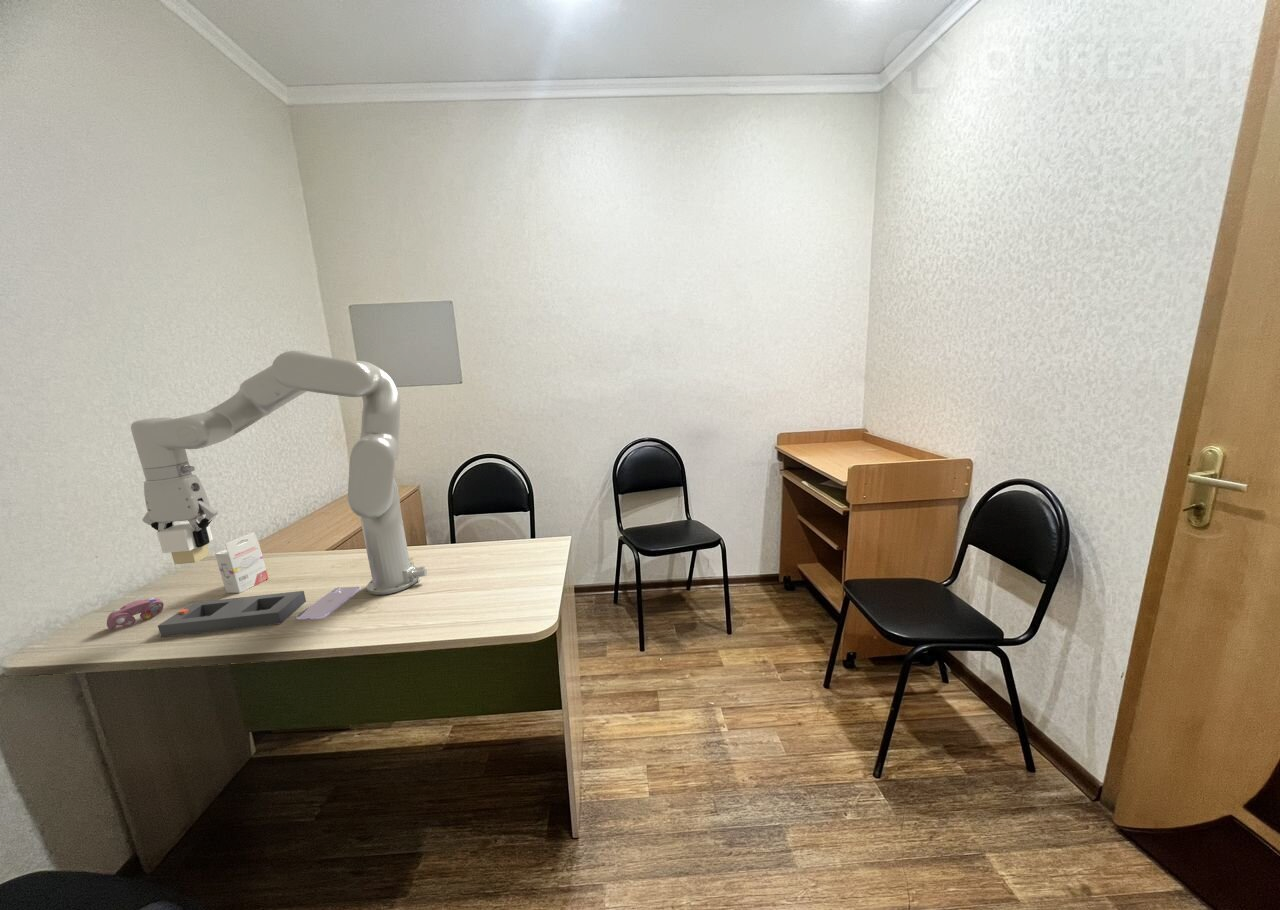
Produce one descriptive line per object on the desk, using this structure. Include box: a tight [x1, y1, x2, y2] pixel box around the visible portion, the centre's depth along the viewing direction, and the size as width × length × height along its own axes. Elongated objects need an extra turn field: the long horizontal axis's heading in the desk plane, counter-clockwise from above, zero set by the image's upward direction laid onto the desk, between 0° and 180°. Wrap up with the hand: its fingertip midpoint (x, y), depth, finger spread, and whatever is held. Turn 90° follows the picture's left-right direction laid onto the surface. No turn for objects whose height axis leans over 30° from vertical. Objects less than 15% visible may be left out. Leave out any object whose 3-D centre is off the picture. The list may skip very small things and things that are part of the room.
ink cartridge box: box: [214, 532, 269, 594], centre depth 131 cm, size 9×5×15 cm, turn 168°
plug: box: [156, 520, 214, 565], centre depth 110 cm, size 6×7×8 cm
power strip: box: [157, 590, 307, 638], centre depth 115 cm, size 26×10×4 cm, turn 97°
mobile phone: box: [295, 586, 362, 621], centre depth 120 cm, size 8×1×15 cm
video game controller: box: [106, 596, 164, 631], centre depth 115 cm, size 10×5×7 cm, turn 149°
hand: (188, 545), depth 110 cm, fingers closed on plug, 5 cm apart
